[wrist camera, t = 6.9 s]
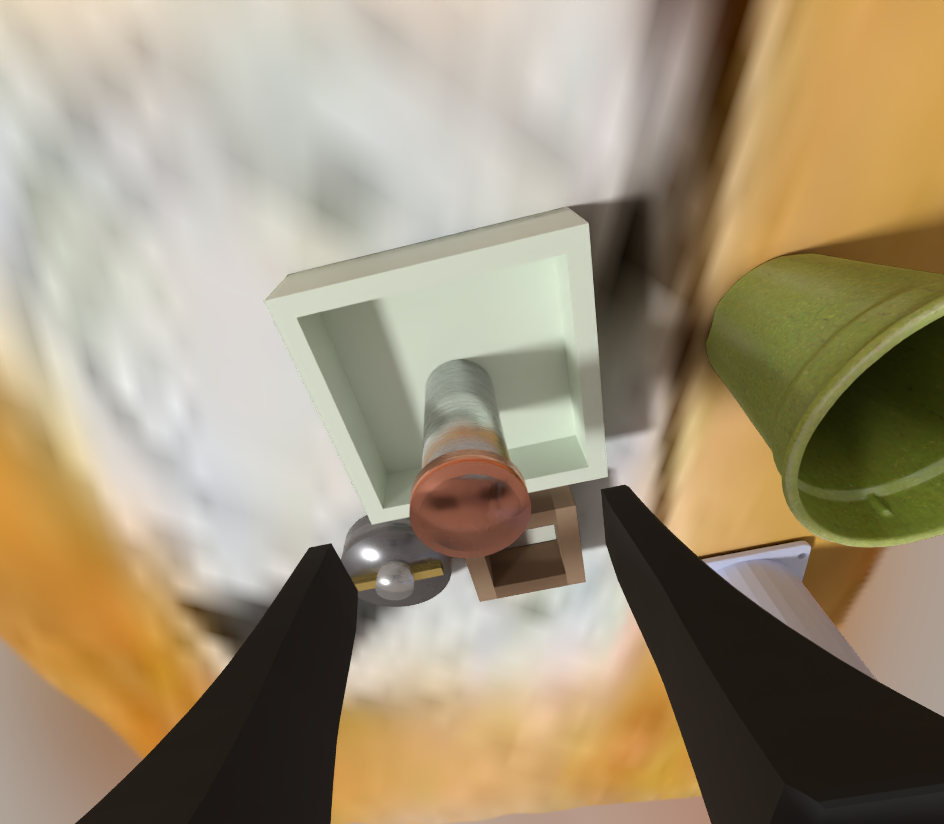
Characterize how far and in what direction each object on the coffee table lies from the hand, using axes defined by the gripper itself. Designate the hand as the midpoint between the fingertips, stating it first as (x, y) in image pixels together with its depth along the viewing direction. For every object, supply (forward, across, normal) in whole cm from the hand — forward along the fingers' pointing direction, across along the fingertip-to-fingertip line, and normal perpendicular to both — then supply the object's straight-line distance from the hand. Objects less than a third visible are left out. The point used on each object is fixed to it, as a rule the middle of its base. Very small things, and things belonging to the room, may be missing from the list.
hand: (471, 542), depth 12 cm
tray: (+10, 0, 0) cm, 10 cm away
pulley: (+10, +6, +10) cm, 16 cm away
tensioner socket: (+10, -1, +10) cm, 15 cm away
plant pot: (+10, -14, +1) cm, 17 cm away
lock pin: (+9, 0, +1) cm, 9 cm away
